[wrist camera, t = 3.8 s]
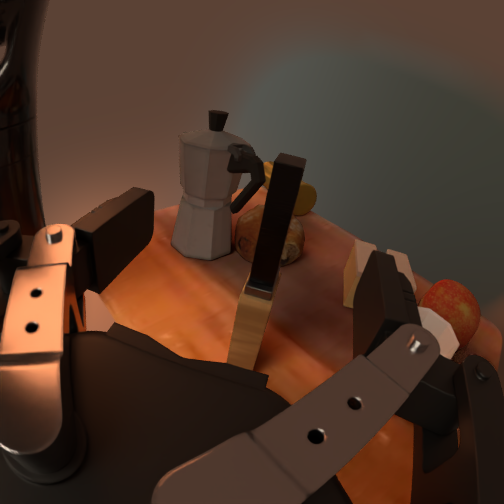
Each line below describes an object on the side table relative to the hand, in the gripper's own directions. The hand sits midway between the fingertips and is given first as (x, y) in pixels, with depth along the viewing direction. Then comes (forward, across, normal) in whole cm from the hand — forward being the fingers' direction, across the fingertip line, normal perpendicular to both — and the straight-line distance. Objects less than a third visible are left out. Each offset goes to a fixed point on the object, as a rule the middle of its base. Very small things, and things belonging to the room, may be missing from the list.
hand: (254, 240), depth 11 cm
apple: (+20, -22, +19) cm, 35 cm away
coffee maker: (+26, +10, +18) cm, 33 cm away
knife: (+10, 0, +17) cm, 20 cm away
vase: (+44, -1, +15) cm, 46 cm away
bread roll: (+30, +2, +18) cm, 35 cm away
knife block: (+10, 0, +18) cm, 21 cm away
